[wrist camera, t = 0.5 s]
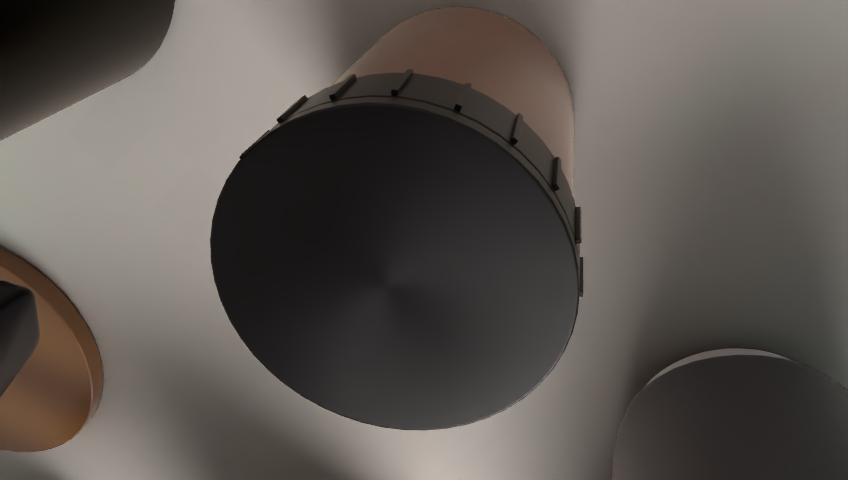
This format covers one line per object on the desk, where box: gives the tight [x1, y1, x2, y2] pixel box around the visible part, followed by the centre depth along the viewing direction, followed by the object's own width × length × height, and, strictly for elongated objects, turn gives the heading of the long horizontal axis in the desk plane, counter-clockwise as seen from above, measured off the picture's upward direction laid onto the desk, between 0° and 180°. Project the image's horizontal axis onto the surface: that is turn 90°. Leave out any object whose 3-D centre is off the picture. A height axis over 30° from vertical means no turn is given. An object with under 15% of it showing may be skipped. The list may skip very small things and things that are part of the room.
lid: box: [210, 69, 583, 430], centre depth 14 cm, size 7×7×2 cm
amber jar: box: [331, 7, 574, 195], centre depth 17 cm, size 6×6×9 cm
